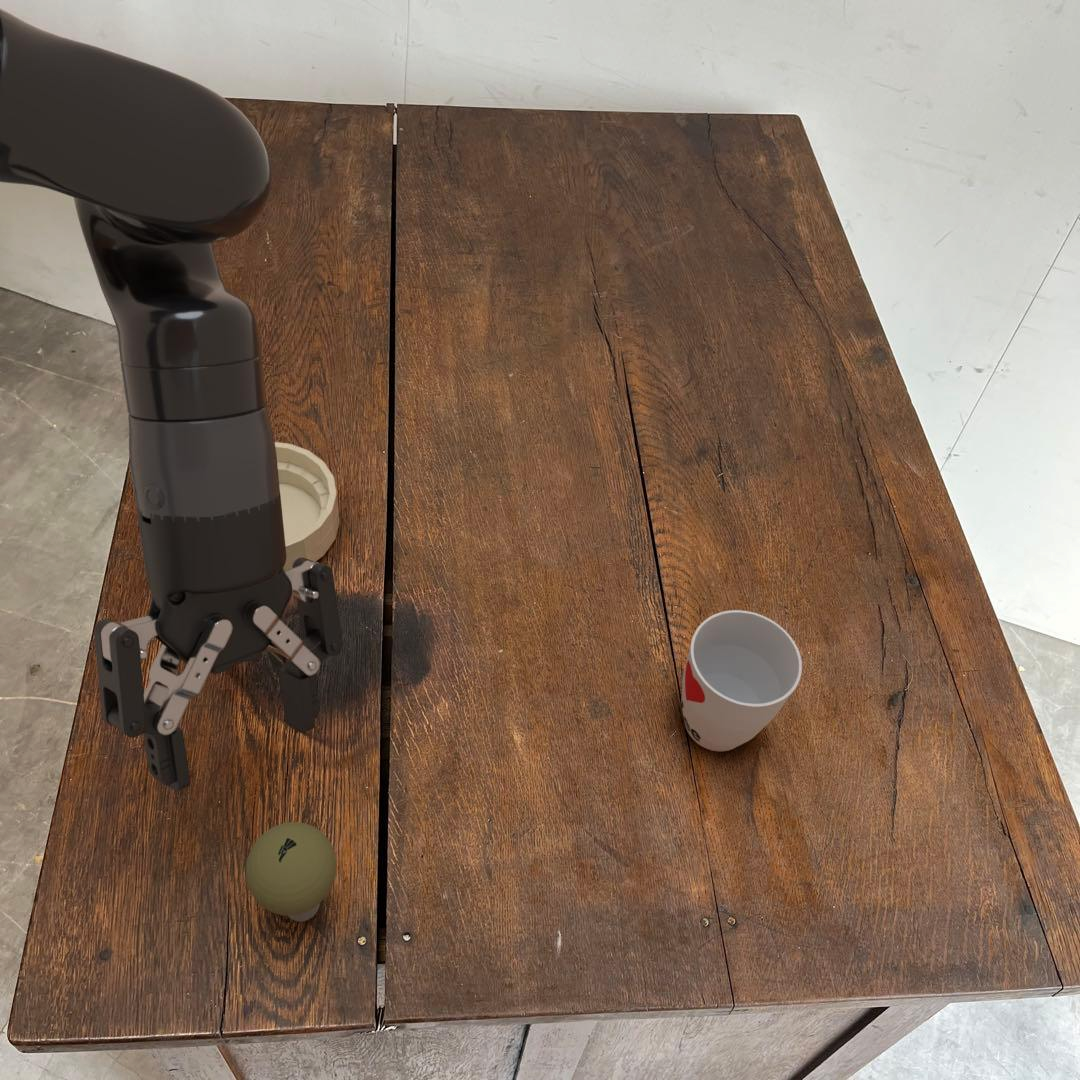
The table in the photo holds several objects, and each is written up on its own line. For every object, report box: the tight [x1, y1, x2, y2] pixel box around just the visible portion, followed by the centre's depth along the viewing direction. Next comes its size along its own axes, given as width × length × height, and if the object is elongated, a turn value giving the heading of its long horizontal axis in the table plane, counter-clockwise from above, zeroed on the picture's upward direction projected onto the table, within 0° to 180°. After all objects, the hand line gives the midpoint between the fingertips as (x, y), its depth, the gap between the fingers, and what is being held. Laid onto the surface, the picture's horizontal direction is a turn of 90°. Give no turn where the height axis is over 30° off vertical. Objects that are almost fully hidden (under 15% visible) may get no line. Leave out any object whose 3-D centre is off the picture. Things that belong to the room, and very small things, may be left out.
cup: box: [680, 609, 803, 752], centre depth 78 cm, size 8×8×10 cm
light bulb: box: [245, 821, 338, 922], centre depth 67 cm, size 6×6×10 cm
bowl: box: [275, 441, 341, 571], centre depth 89 cm, size 12×12×4 cm
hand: (240, 754), depth 61 cm, fingers open, 8 cm apart
